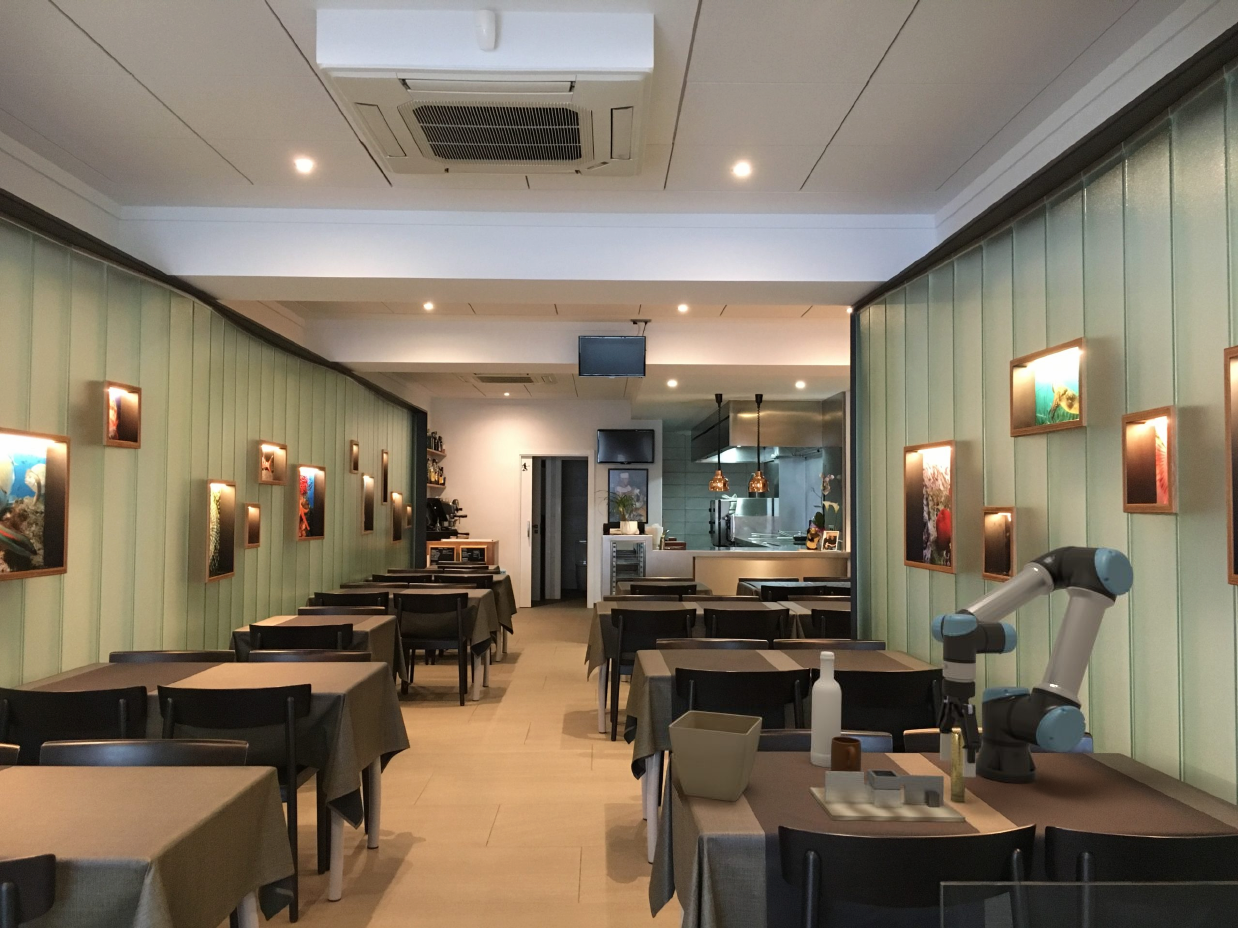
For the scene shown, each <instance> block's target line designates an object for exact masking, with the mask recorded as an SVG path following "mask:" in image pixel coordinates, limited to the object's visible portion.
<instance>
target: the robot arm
mask: <svg viewBox="0 0 1238 928" xmlns="http://www.w3.org/2000/svg"><path fill="white" fill-rule="evenodd" d="M1133 583H1134V570H1133V566H1132V563H1131V561H1130V559H1129V558H1128V557H1127V556H1126V555H1125V553H1123V552H1122V551H1120V550H1118V549H1115V548H1114V549H1113V548H1107V547H1090V546H1074V545H1068V546H1067V545H1066V546H1062V547H1058V548H1056V549H1053V550H1050V551H1047V552H1046V553H1044V554H1041V555H1039V556H1037V557H1036V558H1034V559H1033V560H1030V561H1029V562H1028V563H1026V564H1025V565H1024V566H1023V568H1022V570H1021V571H1020V572H1019V573H1017V574H1016V575H1014V576H1013V577H1010V578H1009V579H1008V580H1006V581H1004V582H1002V583H1001V584H1000V585H998V586H997V587H995V588H993V589H992V590H990V591H989V592H987V593H985V594H983V595H982V596H980V597H979V598H977V599H976V600H974V601H972V602H970V603H969V604H967V605H966V606H964V607H962V608H961V609H959V610H958V611H956V612H954V613H949V614H947V613H946V614H939V615H937V616H935V617H934V619H933V620H932V622H931V626H930V631H931V635H932V637H933V638H934V640H935V641H937V642H938V643H940V644H942V664H941V665H940V668H941V669H942V676H943V677H944V678H942V680H941V681H942V682H941V692H942V696H941V704H940V708H939V713H938V717H937V721H936V729H939V730H938V732H939V734H940V737H939V738H940V740H939V745H940V746H939V761H942V762H951V732H954V731H953V728H954V726H955V723H958V725H959V729H960V732H961V733H962V737H963V740H964V744H965V745H964V746H963V747H962V748H963V776H964V777H965V778H976V774H977V775H978V776H980V777H983V778H986V779H989V780H993V781H996V782H997V781H998V782H1001V783H1003V782H1004V783H1012V784H1013V783H1015V784H1025V783H1026V784H1027V783H1029V784H1030V783H1033V782H1036V781H1037V774H1038V773H1037V772H1038V771H1037V767H1036V764H1035V761H1034V758H1033V756H1032V752H1031V748H1030V744H1031V745H1033V746H1038V747H1040V748H1042V749H1044V750H1047V751H1054V752H1058V753H1065V752H1069V751H1071V750H1072V749H1075V748H1076V747H1077V746H1078V745H1079V744H1080V743H1081V741H1082V740H1083V738H1084V737H1085V733H1086V726H1087V725H1086V724H1087V722H1085V721H1086V718H1085V715H1084V714H1083V712H1082V711H1081V708H1082V703H1081V701H1080V700H1079V697H1078V695H1079V692H1080V688H1081V685H1082V683H1083V680H1084V677H1085V674H1086V670H1087V667H1088V665H1089V664H1088V663H1090V662H1089V661H1090V658H1091V655H1092V652H1093V649H1094V646H1095V643H1096V640H1097V638H1098V634H1099V631H1100V628H1101V626H1102V625H1101V624H1102V621H1103V618H1104V615H1105V612H1106V610H1107V609H1108V608H1109V609H1110V608H1112V607H1113V606H1115V603H1116V600H1117V598H1118V596H1119V597H1120V596H1123V595H1125V594H1127V593H1128V592H1130V590H1131V589H1132V586H1133ZM1058 590H1065V591H1066V593H1067V595H1068V597H1069V599H1068V603H1067V606H1066V609H1065V612H1064V614H1063V618H1062V621H1061V624H1060V626H1059V629H1058V633H1057V635H1056V639H1055V641H1054V644H1053V647H1052V651H1051V653H1050V657H1049V659H1048V663H1047V666H1046V668H1045V671H1044V675H1043V677H1042V680H1041V682H1040V683H1039V684H1037V685H1033V687H1032V689H1031V691H1030V689H1029V688H1028V687H1024V686H990V687H986V688H985V689H984V690H983V692H982V699H981V700H982V701H981V738H980V733H979V732H980V731H979V726H978V721H977V714H976V713H977V711H976V709H977V707H976V705H975V704H970V703H969V702H970V701H969V699H971V698H974V697H975V696H976V682H975V681H974V680H975V679H977V655H981V654H982V655H984V654H985V655H987V654H995V655H997V654H998V655H1002V654H1008V653H1011V652H1013V651H1014V650H1015V649H1016V647H1017V646H1018V634H1017V633H1018V632H1017V631H1016V629H1015V628H1014V626H1013V625H1011V624H1009V623H1007V622H1000V621H1001V620H1002V619H1005V618H1006V617H1007V616H1009V615H1011V614H1012V613H1014V612H1016V611H1017V610H1019V609H1020V608H1021V607H1024V606H1025V605H1026V604H1028V603H1030V602H1032V601H1033V600H1035V599H1036V598H1038V597H1040V596H1041V595H1042V596H1046V595H1050V594H1051V593H1053V592H1055V591H1058ZM977 750H978V752H977Z"/></svg>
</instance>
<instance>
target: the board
mask: <svg viewBox="0 0 1238 928" xmlns="http://www.w3.org/2000/svg"><path fill="white" fill-rule="evenodd" d="M901 790H902V808H882V807H874V806H873V805H872V804H869V803H825V787H810V788H809V792H810V794H811V795H812V796H813V798H815V800H816V801H817V803H818V804H819V805H820V806H821V807H822V809H823V810H824V811H825V812H826V814H827V815H828V816H829V818H830V819H831V820H832V821H872V822H873V821H877V822H880V821H881V822H882V821H883V822H884V821H885V822H888V821H889V822H933V823H934V822H939V823H940V822H944V823H947V822H948V823H949V822H950V823H966V819H967V818H966V816H965V815H963V814H962V813H961V812H959V811H958V810H957V809H956V808H954V806H952V805H951V804H950V803H949V802H947V801H946V800H945V799H944V804H939V807H928V806H927V804H924V803H904V788H901Z"/></svg>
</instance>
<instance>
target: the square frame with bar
mask: <svg viewBox="0 0 1238 928" xmlns="http://www.w3.org/2000/svg"><path fill="white" fill-rule="evenodd" d="M944 778H945V777H944V775H927V774H926V775H920V774H919V775H917V774H915V775H914V774H898V773H897V772H896V771H895V770H894V769H870V768H868V769H866V782H867V781H868V782H869V783H870V784H871V785H872V786H873V787H874V788H886V789H902V786H903V789H904V803H924V804H927V792H937V793H939V794H940V798H939V804H944V800H945V799H944V798H945V797H944V795H945V794H944V789H945V788H944V787H945V786H944V784H945V779H944Z"/></svg>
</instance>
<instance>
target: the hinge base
mask: <svg viewBox="0 0 1238 928" xmlns="http://www.w3.org/2000/svg"><path fill="white" fill-rule="evenodd" d="M824 788H825V803H869V804H872V805H873V806H874V807H882V808H902V790H901V789H902V788H901V789H886V788H874V787H873V786H872V785H871V784H870V783H869V782H868V781H867V780H866V784H865V772H864V771H861V772H846V771H831V770H830V771H829V770H826V771H824ZM939 798H940V794H939V793H937V792H927V806H928V807H939Z"/></svg>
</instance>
